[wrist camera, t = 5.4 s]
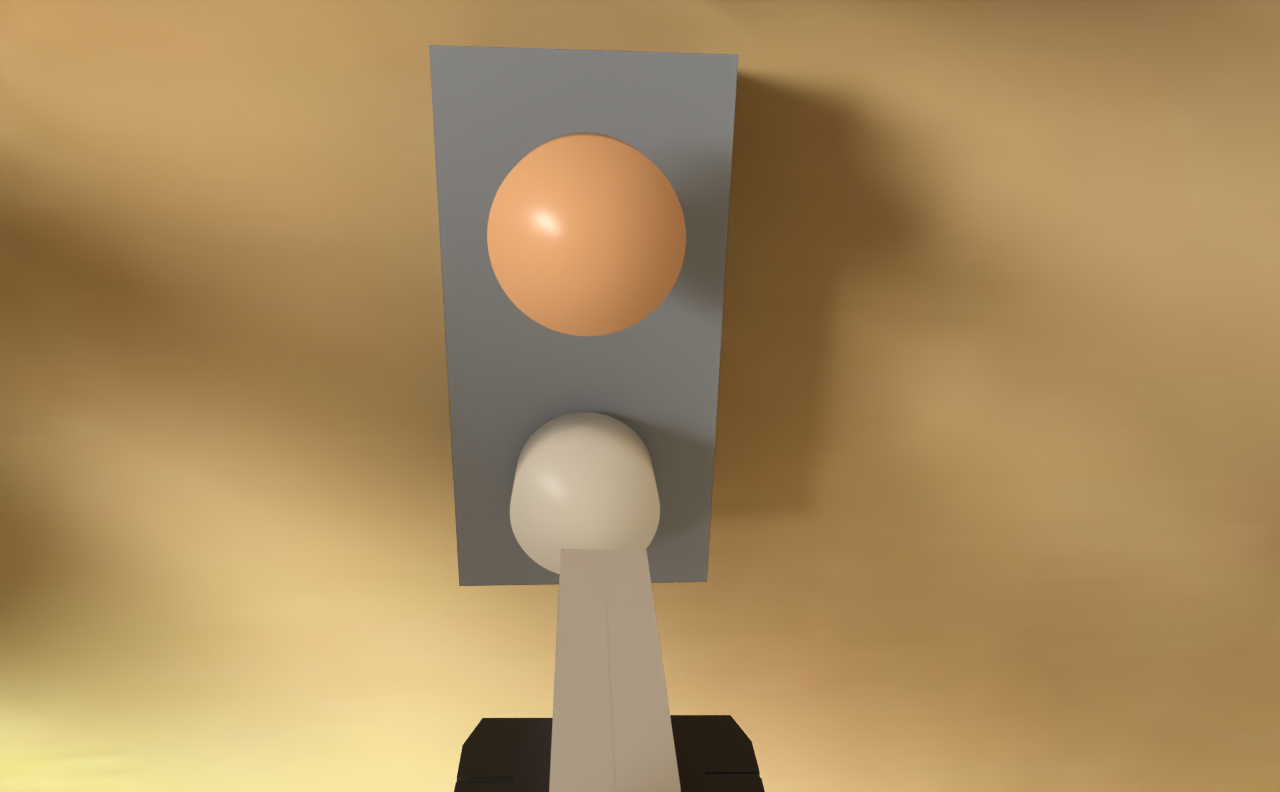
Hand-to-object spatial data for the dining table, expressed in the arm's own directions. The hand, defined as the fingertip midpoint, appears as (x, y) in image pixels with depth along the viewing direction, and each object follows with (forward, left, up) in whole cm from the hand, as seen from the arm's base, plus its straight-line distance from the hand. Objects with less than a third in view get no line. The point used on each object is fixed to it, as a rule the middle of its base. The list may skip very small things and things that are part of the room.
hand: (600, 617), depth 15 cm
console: (0, 0, -25) cm, 25 cm away
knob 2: (0, -5, -24) cm, 25 cm away
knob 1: (0, +5, -20) cm, 21 cm away
